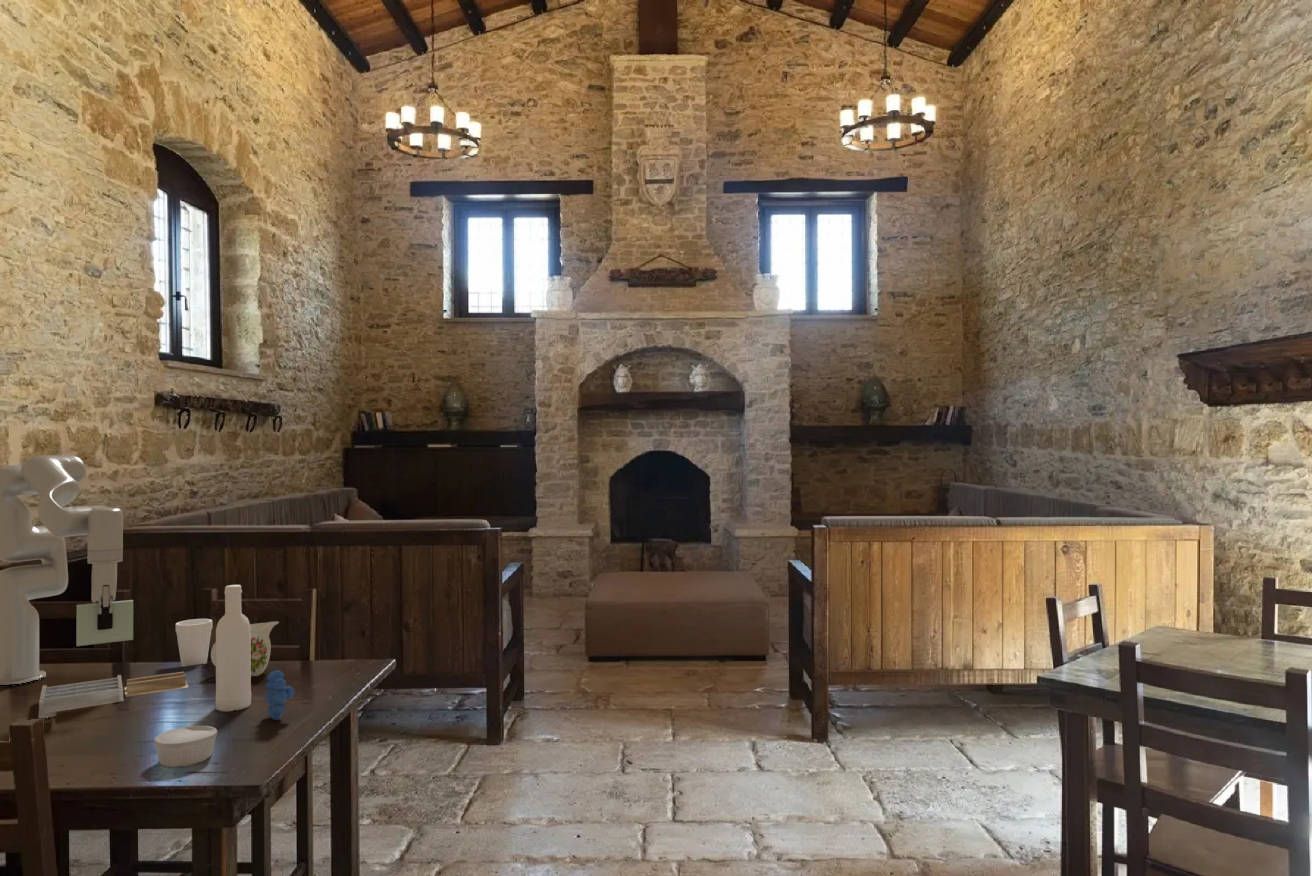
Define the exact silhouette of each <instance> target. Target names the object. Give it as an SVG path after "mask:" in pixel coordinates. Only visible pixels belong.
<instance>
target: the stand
mask: <svg viewBox="0 0 1312 876" xmlns="http://www.w3.org/2000/svg"><path fill="white" fill-rule="evenodd" d="M186 678H187V677H186V674H185V671H179V672H172V673H163V674H158V675H151V676H143V677H136V678H128V679H126V686H125V687H123V691H124V696H125V697H126V698H127V697H133V696H142V695H146V694H147V695H148V694H153V693H160V692H168V691H174V690H181V689H187V688H189V684H188V682H187V679H186Z"/></svg>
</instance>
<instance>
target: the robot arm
mask: <svg viewBox="0 0 1312 876" xmlns="http://www.w3.org/2000/svg"><path fill="white" fill-rule="evenodd" d="M86 475H87V467H86V465H85V462H84V461H83V460H82V459H81V458H80V457H78V456H76V455H72V454H55V455H54V454H52V455H51V454H50V455H48V454H47V455H46V454H45V455H35V456H32V457H30V458H27V459H26V460H25V461H24V462H23V463H22V464H10V465H2V466H0V561H1V562H4V563H5V562H6V563H18V562H19V563H20V562H28V561H37V560H40V561H41V563H39V564H29V565H28V564H27V565H21V566H20V565H19V566H12V567H8V568H4V569H1V570H0V685H9V684H20V685H22V684H21V683H25V684H27V683H26V682H30V681H33V680H38V681H40V680H42V679H41V678H43V677H44V678H46V676H47V672H46V671H44V670H40V614H39V612H38V610H37V609H36V608H35V607H34V606H33V605H32V604H31V603H30V600H35V599H41V598H48V597H49V598H50V597H53V596H54V597H55V596H58V595H61V594H63V593H64V592H66V590H67V588H68V584H69V571H68V557H67V546H66V545H67V544H66V540H65V538H67V537H68V538H71V537H77V536H87V564H89V565H90V564H91V565H92V566H91V597H90V599H91V603H92V604H93V603H99V614H98V616H97V629H98V630H105V629H112V628H113V613H112V602H115V600H116V595H117V582H118V581H117V580H118V563H120V562H121V563H122V562H123V558H124V557H123V555H124V541H123V540H124V535H123V534H124V513H123V510H122V509H121V508H118V507H109V506H106V505H82V506H67V505H69V504H71V503H72V502H73V501H74V500H75V499H76V498H77V497H78V496H79V494H80V493H79V492H80V484H81V483H83V481H84V480H85V478H86ZM34 495H35V496H37V495H39V497H40V498H39V501H38V504H37V514H38V519H39V521H40V523H41V524H42V525H38V526H34V524H33V520H32V519H33V518H32V511H31V508H30V507H29V506H28V504H27V503H26V502H25V501H24V500H23V499H21V498H20V497H19V496H34ZM101 604H103V605H101ZM44 678H43V679H44ZM39 679H40V680H39ZM30 683H31V682H30Z"/></svg>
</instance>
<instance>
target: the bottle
mask: <svg viewBox="0 0 1312 876" xmlns="http://www.w3.org/2000/svg"><path fill="white" fill-rule="evenodd" d="M242 593H243V590H242V585H241V584H230V585H226V586H225V587H224V609H225V610H224V611H225V612H224V615H223V616H222V617H221V618H220V619H219V620H218V622H217V624H216V628H215V643H216V666H215V710H216V711H218V710H219V712H234V710H236V711H240V710H243V709H247V708H248V707H250V706H251V705H252V687H251V686H252V684H251V683H252V682H251V681H252V680H251V678H252V677H251V626H250V624H251V623H250V620H249V618H248V617H247V616H246V615H245V614H243V613H242Z"/></svg>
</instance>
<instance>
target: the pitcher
mask: <svg viewBox="0 0 1312 876" xmlns="http://www.w3.org/2000/svg"><path fill="white" fill-rule="evenodd" d="M279 623H280V622H279V621H268V622H260V623H259V622H257V623H250V626H251V676H255V677H258V676H261V675H262V674H263V673H264V671H265V670H266V669H267V667H268V664H269V662H270V658H271V657H270V656H271V652H272V650H271V648H272V647H271V645H272V644H271V643H272V642H271V639H270V633H271V632H272V630H273V628H274V627H275V626H276V625H278V624H279ZM210 659H211V662H212V664H213V665H214V666H215V667H216V642H215V643H213V645H212V646H211V650H210ZM260 674H261V675H260Z"/></svg>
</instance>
